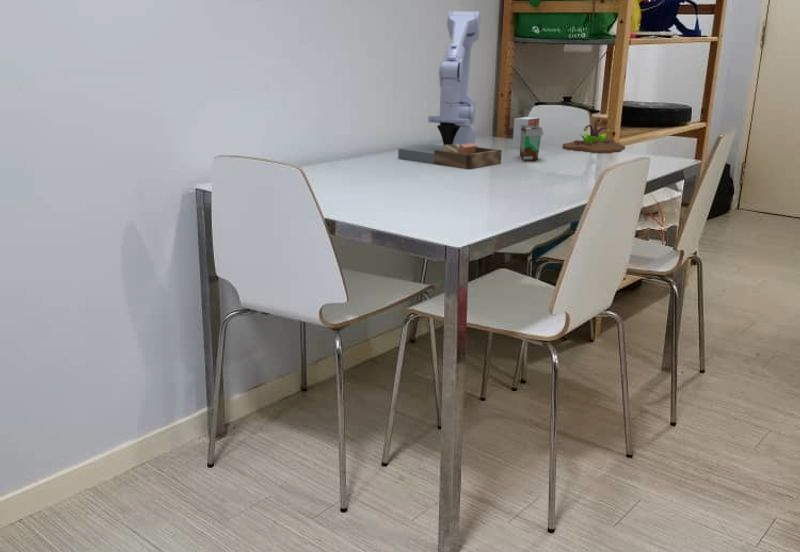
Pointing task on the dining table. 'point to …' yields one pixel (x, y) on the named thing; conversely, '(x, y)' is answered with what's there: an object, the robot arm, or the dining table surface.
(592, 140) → the plant
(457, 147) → the birch tile
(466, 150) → the terracotta tile
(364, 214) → the dining table surface
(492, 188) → the dining table surface
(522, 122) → the small box
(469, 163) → the tray
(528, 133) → the food container
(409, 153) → the bench plate
